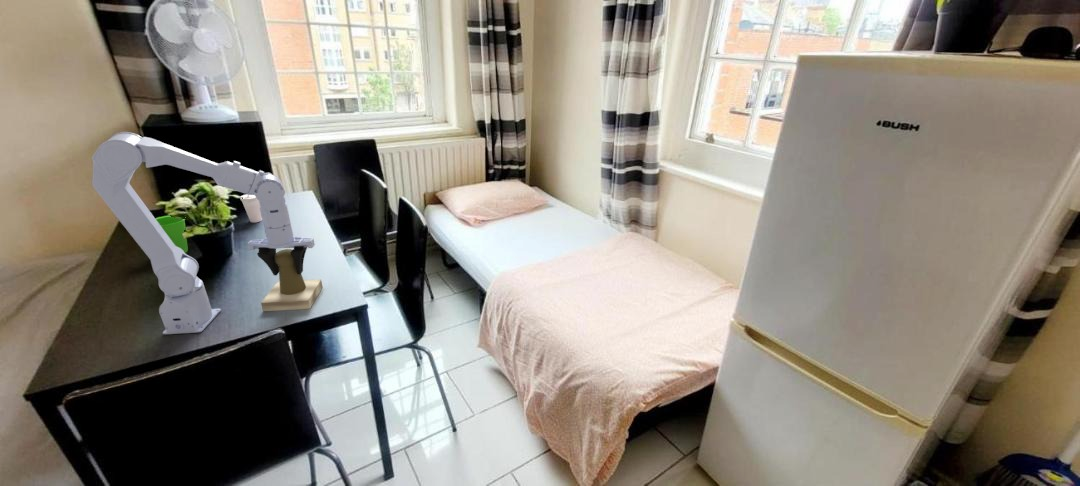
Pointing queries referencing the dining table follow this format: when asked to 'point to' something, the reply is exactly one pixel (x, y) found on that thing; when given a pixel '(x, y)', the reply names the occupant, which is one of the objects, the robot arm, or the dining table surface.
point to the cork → (288, 273)
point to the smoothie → (252, 207)
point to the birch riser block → (292, 297)
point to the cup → (174, 230)
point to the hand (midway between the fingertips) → (288, 273)
